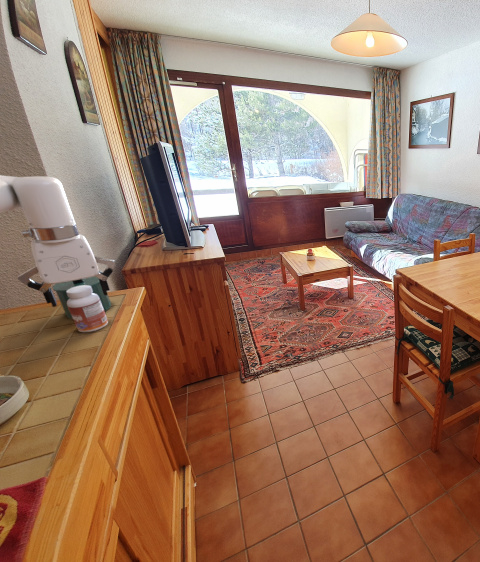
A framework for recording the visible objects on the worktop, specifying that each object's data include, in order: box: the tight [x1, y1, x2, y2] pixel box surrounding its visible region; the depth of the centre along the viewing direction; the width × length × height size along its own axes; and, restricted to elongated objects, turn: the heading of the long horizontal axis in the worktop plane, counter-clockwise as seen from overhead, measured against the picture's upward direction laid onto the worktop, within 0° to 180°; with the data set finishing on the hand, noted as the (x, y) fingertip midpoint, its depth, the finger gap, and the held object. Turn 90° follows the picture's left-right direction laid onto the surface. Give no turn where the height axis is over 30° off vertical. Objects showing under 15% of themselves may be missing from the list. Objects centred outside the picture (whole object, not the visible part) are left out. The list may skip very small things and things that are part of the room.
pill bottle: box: [66, 285, 109, 333], centre depth 79 cm, size 6×6×11 cm
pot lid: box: [51, 276, 100, 292], centre depth 85 cm, size 11×11×5 cm
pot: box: [55, 284, 112, 320], centre depth 88 cm, size 10×15×8 cm, turn 30°
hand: (81, 298), depth 78 cm, fingers open, 9 cm apart
